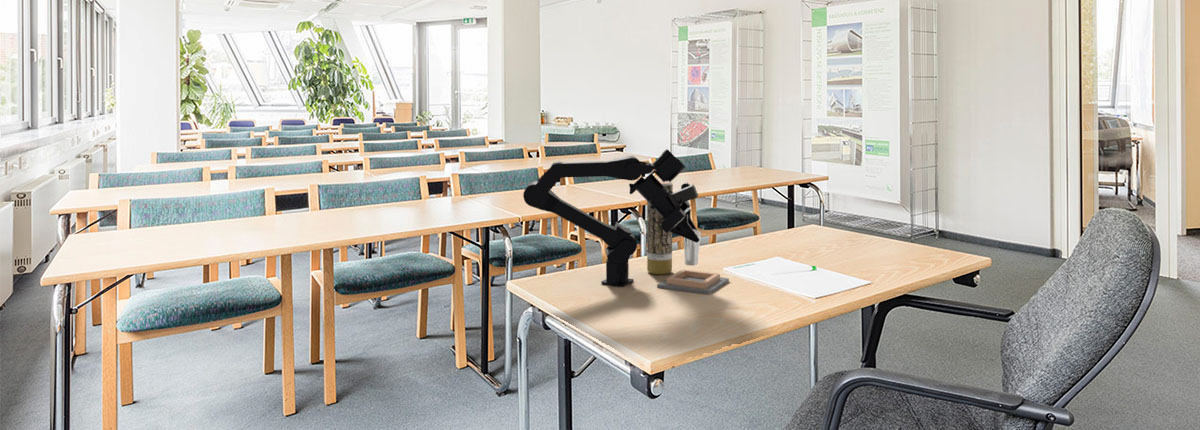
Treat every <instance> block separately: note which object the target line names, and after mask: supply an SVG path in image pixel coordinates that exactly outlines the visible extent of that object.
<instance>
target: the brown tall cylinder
mask: <svg viewBox="0 0 1200 430" xmlns="http://www.w3.org/2000/svg"><path fill="white" fill-rule="evenodd" d="M658 181H659V182H660V183H661V184H662V185H663V186H664V188H666V189H667V190H668V189H669V190H671V191H672V192H673V193H674V191H673V189H674V188H673V187H674V186H673V185H674V184H673V181H671V182H669V181H667V182H666V181H665V182H663V181H662V180H658ZM664 188H663V189H664ZM663 189H662V190H663ZM646 204H647V207H646V208H647V209H646V211H647V212H646V213H647V214H646V219H647V221H646V223H647V225H646V228H647V229H646V231H647V233H646V236H647V237H646V242H647V243H646V244H647V245H646V249H647V250H646V252H647V253H646V261H647V262H646V265H647V266H646V269H647V272H648V273H649V274H652V275H660V276H661V275H668V274H671V272H672V270H673V233H672V232H670V230H669V231H668V232H667V233H666V232H665V231H664V230H663V229H662V228H661V222H662V221H663V220H662V216H661V215H660V214H659V213H658V212H657V211H656V210H655V209H652V208H651V205H650V204H649V203H648V202H647V201H646Z"/></svg>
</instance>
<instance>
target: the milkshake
mask: <svg viewBox="0 0 1200 430" xmlns="http://www.w3.org/2000/svg"><path fill="white" fill-rule="evenodd" d="M704 228H705V226H703V227H702V229H701V231H700V230H698V229H697V230H695V229H693V230H694V232H695V233H696V235H697V236H698V238H699V241H698V242H697V243H696V242H694V241H691V240H689V239H687V238H684V237H682V238H683V253H684V265H686V266H697V265H698V264H699V257H700V256H699V253H700V244H701V238H702V232H703V230H704Z"/></svg>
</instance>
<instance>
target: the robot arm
mask: <svg viewBox="0 0 1200 430" xmlns="http://www.w3.org/2000/svg"><path fill="white" fill-rule="evenodd" d="M686 168H687V167H686V166H685V165H684V164H683V162H681V160H680V159H679V158H678V157H676V156H675V155H674V154H673V153H672V152H671V151H670V150H669V149H668V148H667V149H665V150H664V151H663V152H662V153H661V154H660V155H659V157H657V159H655V161H654V162H649V161H647V162H646V161H641V160H639V159H638V158H637V157H636V156H634V155H627V156H622V157H617V158H612V159H608V160H603V161H602V160H599V161H598V160H597V161H560V160H559V161H555V162H553V163H551V166H550V167H549V168H548V169H547V170H546V171H545V172H544V173H543V174H542V175H541V176H540V177H539V178H538V180H535V181H532V182H529V183H528V184H527V185H526V187H525V189H524V190H523V195H522V196H523V200H524V203H525V204H526V205H528V206H529V207H532V208H535V209H538V210H540V211H544V212H549V213H553V214H555V215H557V216H558V217H561V218H563V219H564V220H565V221H568V222H570V223H571V224H573V225H575V226H577V227H578V228H580V229H582V230H584V231H586V232H587V233H590V234H591V235H593V236H595V237H597V238H598V239H600V240H601V241H603V242H604V243H605V244H606V245H607V247H606V248H605V249H604V250H605V253H606V261H605V269H606V272H605V273H606V274H605V277H606V278H605V279H604V280H601V281H600V283H601V284H603V285H609V286H615V287H624V286H627V285H628V284H631V283H632V282H634V278H629V276H630V275H629V274H630V273H629V270H630V269H629V268H630V267H629V259H630V257H631V256H632V255H633V254H634V253H635V252H636V251H637V249H638V243H637V240H636V238H635V235H634V233H632V231H631V229H630V228H629V227H625V226H623V225H622V224H620V223H619V222H618V221H616V222H615V224H614V225H611V224H607V223H605V222H604V221H601V220H600V219H598V218H596V217H595V216H592V215H591V214H590V213H589V214H588V213H587V212H585V211H583V210H581V209H579V208H578V207H576V206H574V205H572V204H571V203H569V202H567V201H566V200H563V199H561V198H560V197H559V196H558V195H557V194H556V193H555V192H554V191H552V189H553V188H554V186H555V185H556V184H557V183H558V182H559V181H560V180H561V179H562V178H589V177H590V178H595V177H598V178H599V177H607V178H609V177H610V178H613V179H618V180H624V181H625V180H626V181H635V182H634V183H628V185H629V195H632V194H633V193H635V192H636V191H637V193H639V194H640V196H642V197H643V199H645V201H646V203H647V202H648V203H649V204H650V205H651V208H652V209H655V210H656V211H657V212H658V213H659V214H660V215H661V216H662V220H663V221H662V222H661V228H662V229H663V230H664V231H665V232H666V233H667V232H668V231H669V230H670V232H672V234H675V235H677V236H680V237H682V238H683V237H684V238H687V239H689V240H691V241H694V242H696V243H697V242H698V241H699V238H698V236H697V235H696V233H695V232H694V230H693V229H695V230H698V229H697V227H696V225H695V223H694V221H693V220H692V218H691V217H692V216H691V212H692V209H691V206H692V205H691V204H690V202H688V201H692V200H695V199H697V198H698V196H699V193H698V191H697V190H696V186H695V185H694V183H692V184H689V182H684V183H682V184H681V187H680V189H678V190H677V191H675V192H674V191H673V192H672V191H671V190H669V189H668V190H667V189H666V188H664V186H663V185H662V184H661V183H660V182H659V181H663V182H665V181H666V182H667V181H669V182H673V181H674V179H676V178H677V177H678V175H680V174H681V173H682V172H683V171H684V170H685V169H686ZM654 174H655V175H656V176H657V177H658V178H659V179H660V180H659V179H657V178H656V176H655V175H654ZM643 175H644V176H645V175H648V176H646V177H645V178H644V177H643ZM663 188H664V189H663ZM662 189H663V190H662ZM689 208H690V209H689ZM687 209H688V210H687ZM686 210H687V211H686ZM684 238H683V239H684Z"/></svg>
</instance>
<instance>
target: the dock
mask: <svg viewBox="0 0 1200 430" xmlns="http://www.w3.org/2000/svg"><path fill="white" fill-rule="evenodd" d="M729 281H730V279H729V278H728V277H722V276H721V273H715V272H710V271H709V272H707V271H701V270H700V271H699V270H691V269H681V270H679V271H678V272H676V273H673V274H672V275H670V276H668V277H666V279H664V280H662V281H661V282H659V283H657V285H656V287H657V288H659V289H660V288H661V289H667V290H673V291H682V292H689V293H695V294H702V295H703V294H704V295H711V294H712V293H714V292H715V291H717V290H718V289H720V288H721V287H723V286H724V285H725V284H727V283H729Z"/></svg>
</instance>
